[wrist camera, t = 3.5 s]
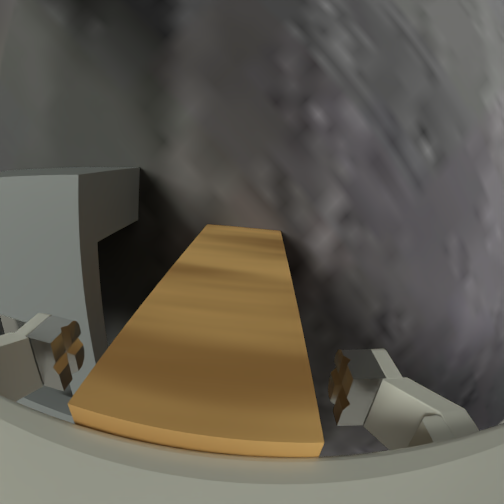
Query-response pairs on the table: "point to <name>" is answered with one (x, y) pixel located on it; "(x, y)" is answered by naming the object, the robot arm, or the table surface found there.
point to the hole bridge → (61, 254)
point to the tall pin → (212, 357)
